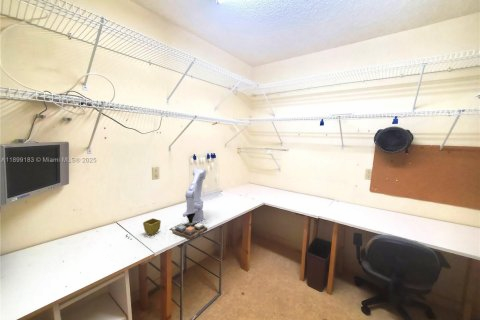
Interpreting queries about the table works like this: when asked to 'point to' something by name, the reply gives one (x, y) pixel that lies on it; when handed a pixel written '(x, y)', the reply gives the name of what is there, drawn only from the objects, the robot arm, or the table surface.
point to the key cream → (198, 225)
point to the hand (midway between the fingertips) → (190, 222)
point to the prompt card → (176, 227)
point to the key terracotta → (190, 229)
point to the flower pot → (152, 226)
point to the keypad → (189, 235)
